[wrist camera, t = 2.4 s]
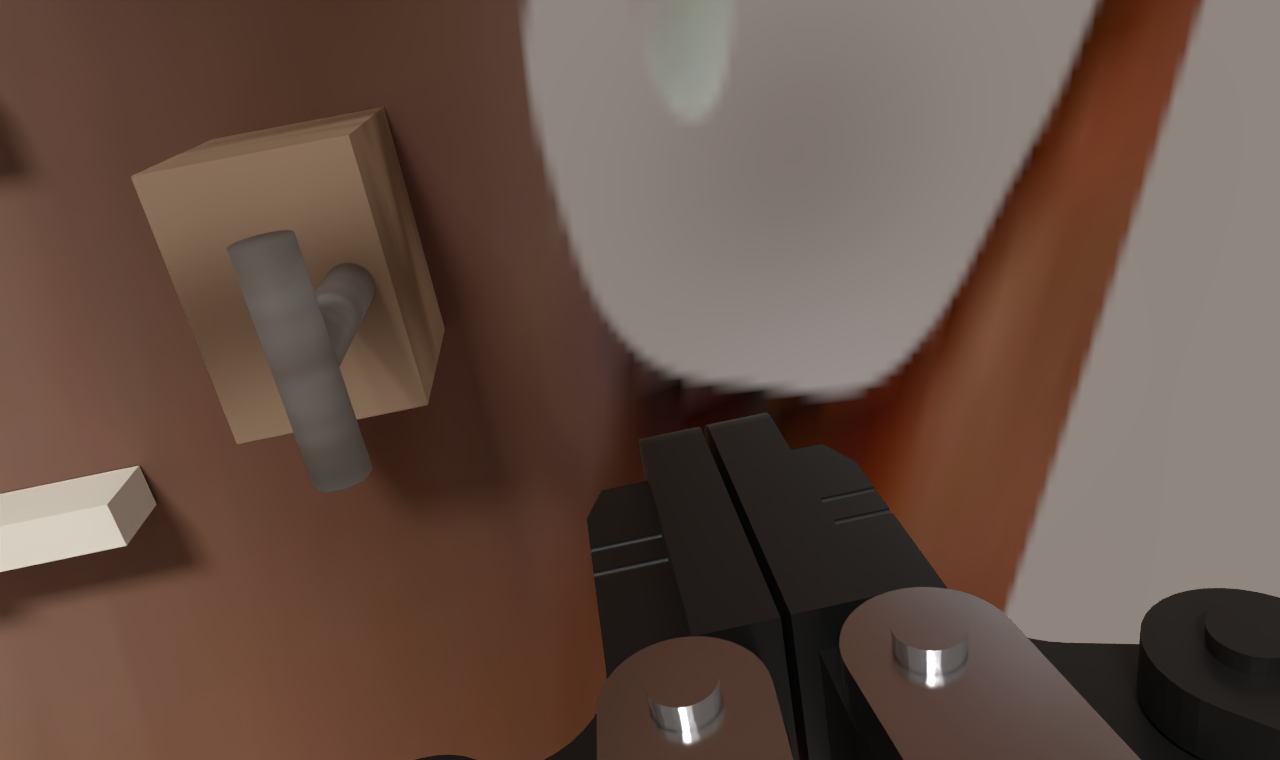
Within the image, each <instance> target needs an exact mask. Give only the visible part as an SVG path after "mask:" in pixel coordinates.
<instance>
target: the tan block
mask: <svg viewBox="0 0 1280 760" xmlns="http://www.w3.org/2000/svg"><path fill="white" fill-rule="evenodd" d="M131 179H132V181H133V184H134V186H135V189H136V191H137V194H138V196H139V199H140V201H141V204H142V206H143V209H144V211H145V214H146V216H147V219H148V221H149V224H150V226H151V229H152V231H153V234H154V237H155V239H156V242H157V244H158V247H159V249H160V252H161V254H162V257H163V259H164V262H165V264H166V267H167V269H168V272H169V274H170V277H171V279H172V282H173V284H174V287H175V289H176V292H177V294H178V297H179V300H180V302H181V305H182V307H183V310H184V312H185V315H186V317H187V320H188V322H189V325H190V327H191V330H192V332H193V335H194V337H195V340H196V342H197V345H198V347H199V350H200V352H201V355H202V357H203V360H204V363H205V365H206V368H207V370H208V373H209V375H210V378H211V380H212V383H213V385H214V388H215V390H216V393H217V395H218V398H219V400H220V403H221V405H222V408H223V410H224V413H225V415H226V418H227V420H228V423H229V425H230V428H231V431H232V433H233V436H234V438H235V441H236V443H237V444H240V443H245V442H250V441H255V440H260V439H265V438H270V437H274V436H279V435H284V434H289V433H294V435H295V438H296V441H297V443H298V446H299V449H300V452H301V454H302V457H303V460H304V462H305V465H306V468H307V471H308V473H309V476H310V479H311V482H312V484H313V487H314V489H315V490H317V491H320V492H334V491H339V490H343V489H346V488H349V487H352V486H354V485H356V484H358V483H360V482H361V481H363V480H364V479H366V478H367V477H368V476H369V475H370V473H371V472H372V469H373V468H372V464H371V461H370V458H369V455H368V452H367V449H366V446H365V443H364V440H363V437H362V434H361V431H360V428H359V425H358V422H357V419H362V418H367V417H372V416H377V415H382V414H387V413H392V412H396V411H401V410H406V409H411V408H416V407H421V406H426V405H428V402H429V398H430V393H431V389H432V385H433V380H434V376H435V371H436V367H437V362H438V358H439V353H440V349H441V344H442V340H443V336H444V331H445V328H444V324H443V320H442V317H441V313H440V309H439V306H438V302H437V298H436V295H435V291H434V287H433V284H432V280H431V276H430V273H429V269H428V266H427V262H426V258H425V255H424V251H423V247H422V244H421V240H420V236H419V233H418V229H417V225H416V222H415V218H414V214H413V211H412V207H411V203H410V200H409V196H408V193H407V189H406V185H405V182H404V178H403V174H402V171H401V167H400V163H399V160H398V156H397V152H396V149H395V145H394V141H393V138H392V134H391V130H390V127H389V123H388V120H387V116H386V112H385V109H384V107H380V108H375V109H369V110H364V111H359V112H353V113H348V114H343V115H338V116H332V117H327V118H322V119H316V120H311V121H306V122H300V123H295V124H290V125H285V126H279V127H274V128H269V129H263V130H258V131H253V132H248V133H242V134H237V135H232V136H226V137H221V138H216V139H211V140H209V141H207V142H205V143H203V144H200V145H198V146H196V147H194V148H192V149H189V150H187V151H185V152H183V153H181V154H178V155H176V156H174V157H172V158H170V159H167V160H165V161H163V162H161V163H159V164H157V165H154V166H152V167H150V168H148V169H146V170H143V171H141V172H139V173H137V174H135V175H132V176H131Z"/></svg>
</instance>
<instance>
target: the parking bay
mask: <svg viewBox="0 0 1280 760" xmlns="http://www.w3.org/2000/svg"><path fill="white" fill-rule="evenodd" d="M156 505H157V504H156V502H155V500H154V497H153V495H152V493H151V491H150V489H149V486H148V484H147V482H146V480H145V477H144V475H143V473H142V471H141V469H140V466H135V467H130V468H125V469H120V470H115V471H110V472H105V473H100V474H96V475H91V476H86V477H81V478H76V479H71V480H66V481H61V482H56V483H52V484H47V485H42V486H37V487H32V488H27V489H22V490H17V491H12V492H8V493H3V494H0V572H3V571H8V570H13V569H18V568H22V567H27V566H32V565H37V564H42V563H46V562H51V561H56V560H61V559H66V558H70V557H75V556H80V555H85V554H90V553H94V552H99V551H104V550H109V549H114V548H118V547H123V546H127V545H128V543H129V542H130V541H131V539H132V538H133V536H134V535H135V534H136V532H137V531H138V529H139V528H140V527H141V525H142V524H143V523H144V521H145V520H146V518H147V517H148V516H149V514H150V513H151V512H152V510H153V509H154V507H155V506H156Z"/></svg>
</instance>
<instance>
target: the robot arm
mask: <svg viewBox="0 0 1280 760" xmlns="http://www.w3.org/2000/svg"><path fill="white" fill-rule="evenodd" d="M705 437H706V439H705ZM705 437H704V435H703V432H702V430H701V428H700V427H696V428H691V429H686V430H682V431H677V432H672V433H667V434H662V435H658V436H653V437H648V438H643V439H638V441H639V448H640V454H641V459H642V465H643V470H644V475H645V480H646V481H645V482H640V483H635V484H630V485H626V486H621V487H616V488H611V489H607V490H602V491H601V493H600V495H599V497H598V499H597V501H596V503H595V505H594V506H593V508H592V510H591V512H590V514H589V516H588V518H587V523H588V531H589V539H590V547H591V552H592V553H591V555H592V563H593V570H594V576H595V586H596V594H597V602H598V610H599V617H600V625H601V633H602V641H603V649H604V657H605V664H606V672H607V680H606V682H605V684H604V686H603V687H602V689H601V692H600V695H599V698H598V703H597V713H596V714H595V716H594V718H593V719H592V721H591V722H590V723H589V724H588V726H587V727H586V728H585V729H584V731H583V732H581V733H580V734H579V735H578V736H577V737H576V738H575V739H574V740H573V741H572V742H571V743H569V744H568V745H567V746H565V747H564V748H563V749H561V750H560V751H559V752H557V753H555V754H554V755H552V756H550V757H549V758H547V759H545V760H1280V598H1278V597H1274V596H1270V595H1267V594H1262V593H1258V592H1252V591H1246V590H1239V589H1226V588H1210V589H1209V588H1208V589H1197V590H1190V591H1185V592H1182V593H1178V594H1174V595H1172V596H1169V597H1167V598H1165V599H1163V600H1161V601H1160V602H1158V603H1157V604H1155V605H1154V606H1153V607H1152V608H1151V609H1150V610H1149V611H1148V612H1147V613H1146V615H1145V617H1144V619H1143V621H1142V623H1141V632H1140V644H1095V643H1093V644H1092V643H1061V642H1048V641H1042V640H1035V639H1030V638H1027V637H1026V636H1025V634H1024V633H1023V632H1022V631H1021V630H1020V629H1019V628H1018V627H1017V626H1016V625H1015V624H1014V623H1013V622H1012V620H1011V619H1009V618H1008V617H1007V616H1006V615H1005V614H1004V613H1003V612H1002V611H1000V610H999V609H997V608H996V607H994V606H993V605H991V604H990V603H988V602H986V601H984V600H982V599H980V598H978V597H975V596H972V595H969V594H966V593H964V592H960V591H955V590H951V589H948V588H947V587H946V586H945V584H944V583H943V581H942V580H941V579H940V577H939V576H938V575H937V573H936V572H935V570H934V569H933V568H932V566H931V565H930V564H929V562H928V561H927V559H926V558H925V557H924V555H923V554H922V553H921V551H920V550H919V549H918V547H917V546H916V544H915V543H914V542H913V540H912V539H911V538H910V536H909V535H908V533H907V532H906V531H905V529H904V528H903V527H902V525H901V524H900V522H899V521H898V520H897V518H896V517H895V516H894V514H890V511H889V507H888V506H887V505H886V503H885V502H884V500H883V499H882V498H881V496H880V495H879V494H878V492H875V491H874V487H873V485H872V484H871V483H870V481H869V480H868V478H867V477H866V476H865V474H864V473H863V472H862V470H861V469H860V467H859V466H858V465H857V463H856V462H855V461H853V460H851V459H849V458H847V457H846V456H844V455H842V454H840V453H838V452H836V451H834V450H832V449H830V448H829V447H827V446H825V445H823V444H819V445H815V446H810V447H805V448H800V449H796V450H791V449H790V448H789V446H788V444H787V443H786V441H785V439H784V438H783V436H782V434H781V433H780V431H779V429H778V428H777V426H776V425H775V423H774V421H773V420H772V418H771V416H770V415H769V414H768V413H762V414H758V415H753V416H748V417H743V418H738V419H734V420H729V421H724V422H719V423H714V424H710V425H706V426H705ZM416 760H475V759H472V758H468V757H465V756H456V755H437V756H430V757H425V758H420V759H416Z"/></svg>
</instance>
